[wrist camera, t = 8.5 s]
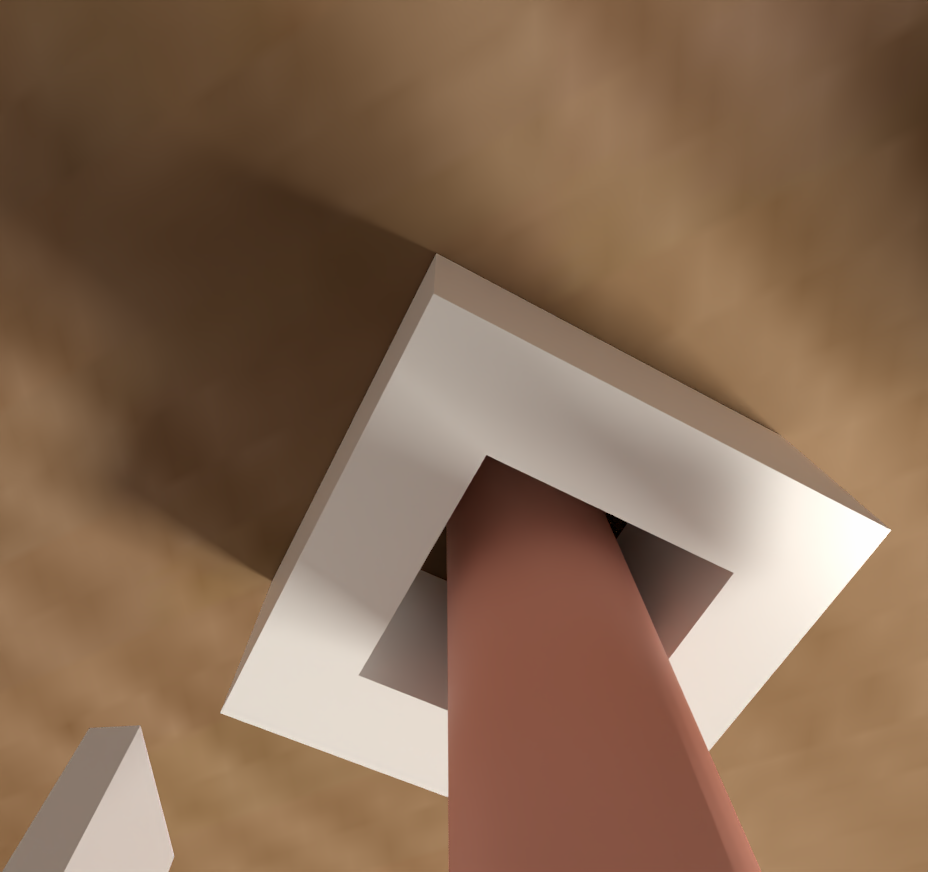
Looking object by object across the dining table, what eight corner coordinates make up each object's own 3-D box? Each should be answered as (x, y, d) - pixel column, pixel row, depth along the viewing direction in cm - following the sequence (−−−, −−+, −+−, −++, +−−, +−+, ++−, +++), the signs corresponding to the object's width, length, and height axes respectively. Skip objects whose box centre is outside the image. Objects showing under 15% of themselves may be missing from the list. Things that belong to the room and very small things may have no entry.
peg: (491, 416, 19) (602, 1054, 6) (624, 481, 19) (997, 1176, 6) (420, 540, 20) (376, 1295, 7) (548, 596, 21) (727, 1372, 8)
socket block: (436, 252, 17) (433, 293, 12) (781, 436, 19) (890, 530, 14) (271, 582, 20) (220, 713, 15) (581, 709, 22) (618, 860, 17)
